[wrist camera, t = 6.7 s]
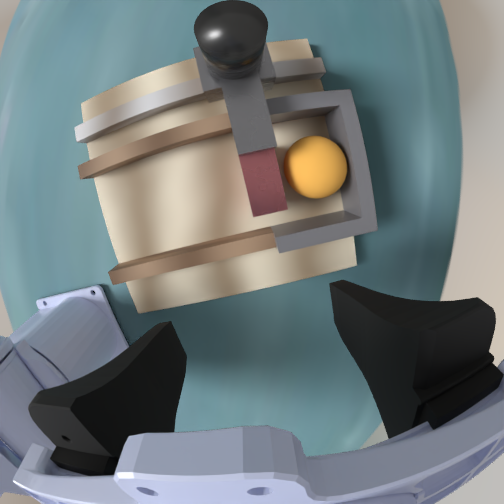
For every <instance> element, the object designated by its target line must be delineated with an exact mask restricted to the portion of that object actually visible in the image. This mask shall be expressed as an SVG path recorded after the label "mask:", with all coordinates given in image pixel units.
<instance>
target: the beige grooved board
mask: <svg viewBox="0 0 504 504" xmlns="http://www.w3.org/2000/svg"><path fill="white" fill-rule="evenodd" d="M267 47H268V50H269V53H270V56H271V59H272V63H273V66H274V69H275V73H276V79H275V82H274V85H273V88H272V90H267V91H264V95H265V99H270V98H276V97H282V96H289V95H296V94H303V93H312V92H321V91H324V89H323V86H322V82H321V79H320V78H321V77H322V76H323V75H324V74H325V73H326V70H325V67H324V64H323V61H322V58H321V57H319V58H314V57H313V54H312V51H311V48H310V45H309V43H308V40H307V39H297V40H286V41H277V42H269V43H267ZM81 107H82V115H83V122H84V123H82V124H80V125H78V126H77V127H75V134H76V140H77V142H81V143H87V146H88V152H89V157H90V160H89V161H87V162H85V163H83V164H81V165H79V166H78V170H79V175H80V179H87V178H94V180H95V184H96V188H97V192H98V196H99V200H100V204H101V208H102V211H103V215H104V218H105V222H106V225H107V229H108V232H109V235H110V238H111V241H112V245H113V248H114V251H115V254H116V256H117V259H118V262H119V264H118V265H116V266H115V267H114V268H113V269H112V270H110V271H109V272H108V273H109V276H110V279H111V281H112V284H113V285H115V284H119V283H124V282H126V284H127V287H128V289H129V292H130V294H131V297H132V299H133V302H134V304H135V307H136V309H137V311H138V314H139V313H145V312H150V311H156V310H161V309H167V308H172V307H177V306H182V305H188V304H193V303H198V302H203V301H208V300H212V299H217V298H222V297H227V296H231V295H236V294H241V293H245V292H250V291H254V290H259V289H263V288H268V287H272V286H276V285H281V284H285V283H289V282H293V281H297V280H302V279H306V278H310V277H314V276H318V275H322V274H326V273H330V272H334V271H338V270H341V269H345V268H349V267H353V266H357V262H356V252H355V244H354V236H352V237H348V238H343V239H339V240H335V241H331V242H327V243H322V244H318V245H314V246H310V247H305V248H301V249H297V250H292V251H288V252H284V253H280V254H279V252H278V250H277V247H276V243H275V238H274V233H273V231H272V229H271V227H270V226H274V225H278V224H282V223H287V222H291V221H296V220H300V219H305V218H309V217H314V216H318V215H323V214H328V213H332V212H337V211H342V210H343V203H342V198H341V192H340V188H339V189H338V190H337V191H336V192H335V193H333V194H332V195H330V196H328V197H325V198H317V199H316V198H308V197H305V196H303V195H301V194H299V193H298V192H296V191H295V190H294V189H293V188H292V187H291V186H290V185H289V183H288V181H287V179H286V177H285V174H284V168H283V165H284V158H285V155H286V153H287V151H288V149H289V148H290V147H291V145H292V144H293V143H295V142H296V141H297V140H299V139H301V138H303V137H307V136H322V137H325V138H327V139H330V138H329V134H328V130H327V125H326V121H325V117H324V116H317V117H310V118H303V119H297V120H290V121H285V122H279V123H273V124H272V126H273V130H274V134H275V138H276V142H277V147H276V148H275V153H276V157H277V162H278V166H279V170H280V175H281V179H282V184H283V188H284V193H285V198H286V202H287V207H288V210H284V211H279V212H275V213H270V214H266V215H262V216H257V217H253V214H252V210H251V206H250V202H249V197H248V193H247V189H246V185H245V181H244V176H243V172H242V168H241V164H240V160H239V156H238V152H237V148H236V144H235V140H234V136H233V132H232V128H231V123H230V119H229V115H228V111H227V107H226V103H225V99H223V100H219V101H215V102H211V103H209V102H208V100H207V98H206V96H205V94H204V92H203V88H202V84H201V80H200V76H199V71H198V67H197V63H196V58H192V59H189V60H185V61H182V62H179V63H175V64H172V65H169V66H166V67H163V68H160V69H158V70H155V71H152V72H149V73H147V74H144V75H142V76H139V77H136V78H134V79H132V80H129V81H127V82H124V83H122V84H120V85H118V86H115V87H113V88H111V89H109V90H107V91H105V92H103V93H101V94H99V95H96V96H95V97H93V98H91V99H89V100H87V101H85V102H83V103H81Z"/></svg>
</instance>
